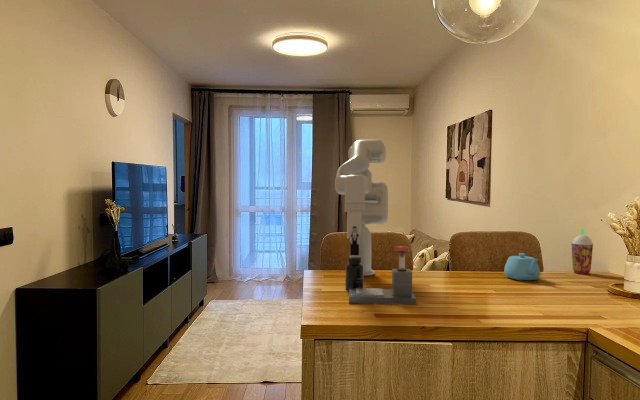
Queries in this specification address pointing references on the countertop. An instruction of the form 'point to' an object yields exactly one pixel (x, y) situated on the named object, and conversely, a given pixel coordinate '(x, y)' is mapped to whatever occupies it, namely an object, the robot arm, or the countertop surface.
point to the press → (387, 291)
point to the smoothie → (582, 254)
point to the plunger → (402, 256)
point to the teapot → (522, 268)
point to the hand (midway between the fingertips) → (354, 253)
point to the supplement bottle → (354, 273)
